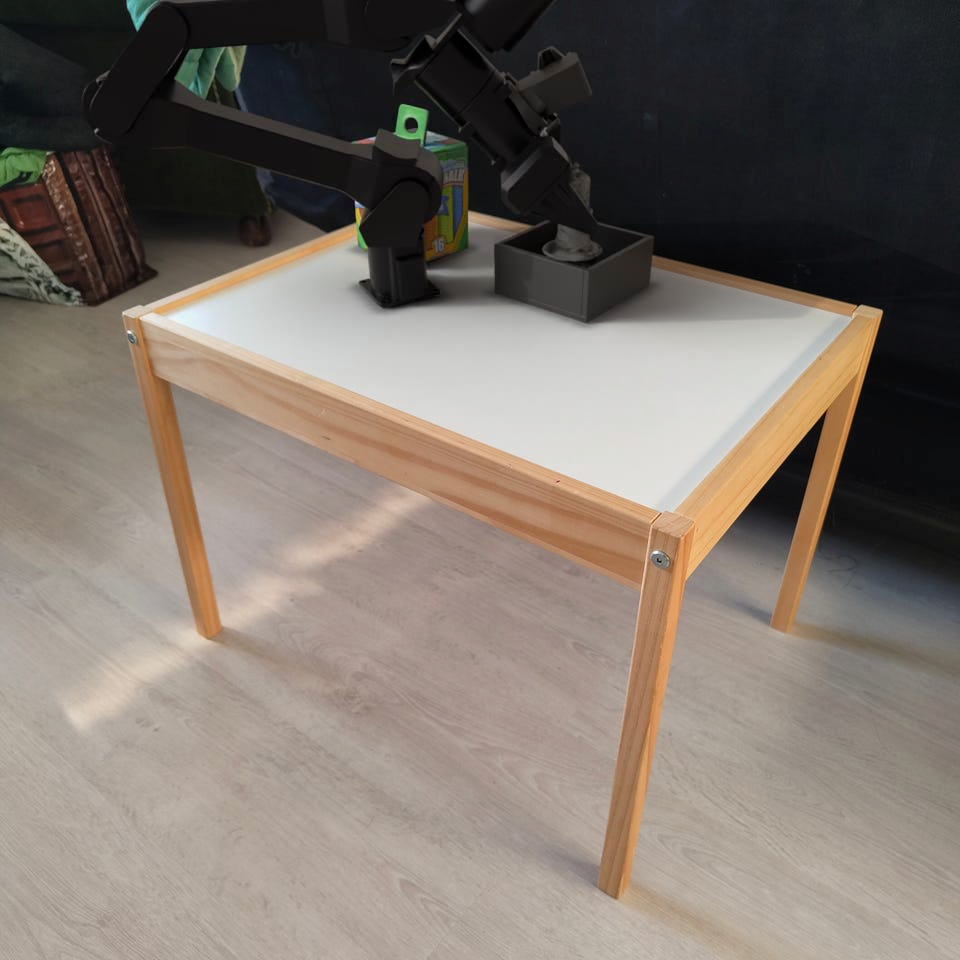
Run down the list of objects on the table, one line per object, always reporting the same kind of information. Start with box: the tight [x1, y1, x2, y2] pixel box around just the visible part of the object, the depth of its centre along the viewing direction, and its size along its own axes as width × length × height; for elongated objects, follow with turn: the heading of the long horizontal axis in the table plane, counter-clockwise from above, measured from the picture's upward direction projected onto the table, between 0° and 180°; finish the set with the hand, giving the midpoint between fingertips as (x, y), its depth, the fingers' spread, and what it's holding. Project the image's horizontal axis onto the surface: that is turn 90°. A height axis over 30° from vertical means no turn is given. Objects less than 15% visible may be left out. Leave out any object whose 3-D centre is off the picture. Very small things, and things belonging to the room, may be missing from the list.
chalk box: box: [350, 103, 470, 263], centre depth 96 cm, size 9×9×15 cm
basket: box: [493, 220, 655, 324], centre depth 89 cm, size 11×11×5 cm
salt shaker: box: [542, 160, 602, 268], centre depth 86 cm, size 6×6×12 cm
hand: (590, 213), depth 86 cm, fingers open, 9 cm apart
